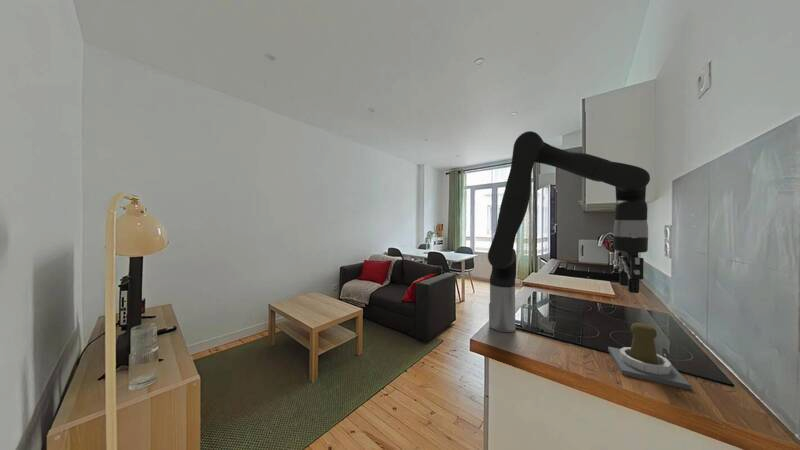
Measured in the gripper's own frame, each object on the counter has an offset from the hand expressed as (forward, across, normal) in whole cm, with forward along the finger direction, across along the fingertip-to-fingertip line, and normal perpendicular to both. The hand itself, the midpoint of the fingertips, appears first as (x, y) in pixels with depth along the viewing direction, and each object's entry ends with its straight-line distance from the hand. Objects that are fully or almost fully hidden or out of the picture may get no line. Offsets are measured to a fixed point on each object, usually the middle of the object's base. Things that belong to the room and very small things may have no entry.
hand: (628, 288), depth 72 cm
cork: (+20, +3, +3) cm, 21 cm away
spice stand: (+21, +3, +3) cm, 22 cm away
